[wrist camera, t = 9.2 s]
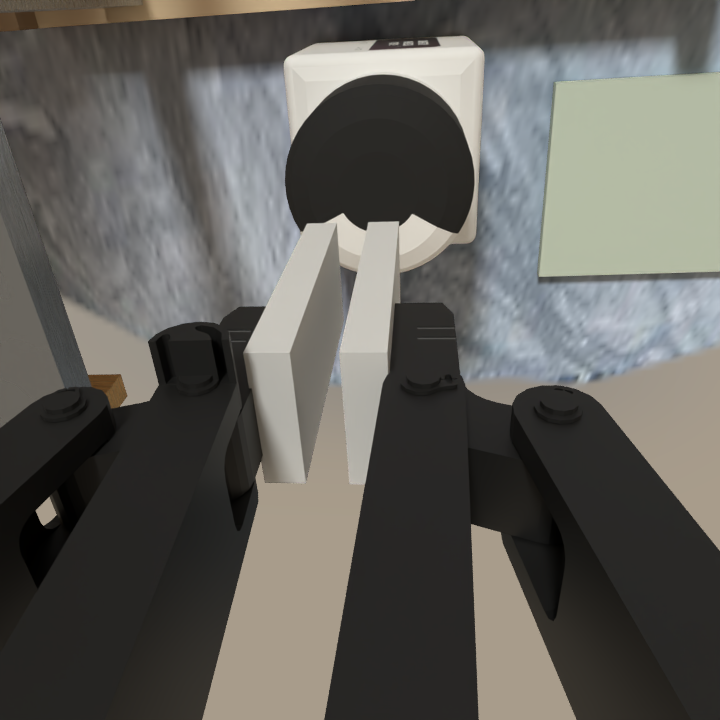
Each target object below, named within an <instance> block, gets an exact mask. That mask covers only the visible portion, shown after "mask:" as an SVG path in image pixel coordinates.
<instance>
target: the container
mask: <svg viewBox="0 0 720 720" xmlns="http://www.w3.org/2000/svg"><path fill="white" fill-rule="evenodd" d="M484 60H485V57H484V52H483V51H482V50H481V48H480V47H478V46H477V45H476V44H475V43H474V42H473V41H471V40H470V39H469V38H468V37H467V36H463V35H461V36H441V37H421V38H402V39H382V40H362V41H342V42H323V43H315V44H313V45H311V46H309V47H307V48H305V49H303V50H301V51H299V52H297V53H295V54H293V55H290V56H288V57H287V58H286V60H285V61H284V67H283V68H284V77H285V87H286V97H287V107H288V117H289V126H290V136H291V148H290V151H289V154H288V158H287V164H286V170H285V186H286V195H287V200H288V204H289V208H290V210H291V213H292V215H293V218H294V221H295V222H296V224H297V226H298V228H299V229H300V234H301V235H302V233H303V231H304V229H305V227H306V225H307V224H311V223H337V233H338V247H339V261H340V266H342V267H344V268H346V269H349V270H352V271H356V272H357V271H358V267H359V262H360V258H361V253H362V249H363V244H364V240H365V235H366V231H367V226H368V222H396V221H399V254H400V273H401V272H405V271H409V270H411V269H414V268H417V267H419V266H421V265H423V264H425V263H427V262H428V261H430V260H432V259H433V258H435V257H436V256H437V255H439V254H440V253H441V252H442V251H443V250H444V249H445V248H446V247H447V246H448V245H450V244H467V243H471V242H472V241H473V240H474V239H475V236H476V226H477V205H478V184H479V164H480V143H481V122H482V102H483V81H484Z"/></svg>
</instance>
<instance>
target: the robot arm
mask: <svg viewBox="0 0 720 720" xmlns="http://www.w3.org/2000/svg"><path fill="white" fill-rule="evenodd" d="M343 321H344V317H343V303H342V289H341V275H340V261H339V247H338V233H337V223H311V224H307V225H306V227H305V229H304V231H303V233H302V235H301V237H300V239H299V241H298V243H297V245H296V247H295V249H294V251H293V253H292V255H291V257H290V259H289V261H288V263H287V265H286V267H285V269H284V271H283V273H282V275H281V277H280V279H279V281H278V283H277V285H276V287H275V289H274V291H273V293H272V296H271V298H270V300H269V302H268V304H267V306H265V307H239V308H237V309H236V310H234V311H233V312H231V313H230V314H228V315H227V316H225V317H224V318H223V320H222V322H221V323H220V325H218V324H215V323H208V322H194V323H185V324H181V325H177V326H174V327H170V328H168V329H166V330H164V331H162V332H160V333H158V334H156V335H155V336H154V337H153V338H151V339H150V340H149V341H148V344H149V347H150V351H151V355H152V359H153V363H154V367H155V371H156V375H157V378H158V383H159V386H158V388H157V389H156V391H155V393H154V394H153V396H152V398H151V399H150V401H147V402H143V403H139V404H133V405H128V406H123V407H117V408H112V409H111V406H110V403H109V400H108V396H107V395H106V394H105V393H104V392H103V391H102V390H100V389H96V388H93V387H69V388H68V389H67V388H64V389H60V390H57V391H55V392H54V393H51V394H48V395H46V396H43V397H42V398H40V399H38V400H37V401H35V402H34V403H32V404H30V405H29V406H28V407H26V408H25V409H24V410H23V411H21V412H20V413H19V414H17V415H16V416H15V417H14V418H12V419H11V420H10V421H8V422H7V423H6V424H5V425H3V426H2V427H1V428H0V720H202V718H203V714H204V710H205V706H206V702H207V699H208V695H209V691H210V687H211V683H212V679H213V675H214V671H215V667H216V663H217V660H218V655H219V652H220V648H221V644H222V640H223V636H224V633H225V628H226V625H227V621H228V617H229V613H230V609H231V605H232V602H233V598H234V594H235V590H236V586H237V582H238V578H239V574H240V570H241V567H242V563H243V559H244V555H245V551H246V547H247V543H248V539H249V535H250V532H251V527H252V523H253V520H254V516H255V512H256V508H257V504H258V490H257V484H256V479H255V476H256V473H257V471H258V468H259V465H260V462H262V468H263V473H264V480H265V483H306V480H307V476H308V472H309V468H310V463H311V459H312V455H313V451H314V446H315V442H316V438H317V433H318V429H319V425H320V420H321V416H322V412H323V407H324V403H325V399H326V394H327V390H328V386H329V382H330V377H331V373H332V369H333V364H334V360H335V356H336V351H337V347H338V343H339V338H340V334H341V330H342V326H343ZM339 355H340V368H341V381H342V393H343V407H344V420H345V433H346V445H347V458H348V471H349V483H350V484H365V488H364V494H363V500H362V505H361V511H360V517H359V524H358V529H357V534H356V540H355V546H354V552H353V557H352V563H351V569H350V575H349V581H348V586H347V592H346V598H345V604H344V609H343V615H342V621H341V627H340V632H339V638H338V644H337V650H336V656H335V661H334V667H333V673H332V679H331V684H330V690H329V696H328V702H327V708H326V714H325V719H324V720H479V719H478V694H477V669H476V643H475V618H474V593H473V570H472V569H473V568H472V543H471V524H474V525H477V526H480V527H484V528H488V529H491V530H495V531H499V532H501V535H502V540H503V544H504V547H505V549H506V552H507V554H508V556H509V559H510V561H511V563H512V566H513V568H514V570H515V573H516V576H517V578H518V580H519V583H520V585H521V588H522V590H523V592H524V595H525V597H526V599H527V602H528V604H529V606H530V609H531V612H532V614H533V616H534V619H535V621H536V623H537V626H538V628H539V631H540V633H541V635H542V638H543V640H544V643H545V645H546V647H547V650H548V652H549V655H550V657H551V659H552V662H553V664H554V667H555V669H556V671H557V674H558V676H559V679H560V681H561V683H562V686H563V688H564V691H565V693H566V695H567V698H568V700H569V703H570V705H571V707H572V710H573V712H574V714H575V716H576V719H577V720H720V551H719V550H718V548H717V547H716V546H715V545H714V543H713V542H712V541H711V540H710V538H709V537H708V536H707V535H706V533H705V532H704V531H703V530H702V529H701V527H700V526H699V525H698V524H697V522H696V521H695V520H694V519H693V517H692V516H691V515H690V514H689V512H688V511H687V510H686V509H685V508H684V506H683V505H682V504H681V503H680V501H679V500H678V499H677V498H676V496H675V495H674V494H673V493H672V491H671V490H670V489H669V488H668V486H667V485H666V484H665V483H664V482H663V480H662V479H661V478H660V477H659V475H658V474H657V473H656V472H655V470H654V469H653V468H652V467H651V466H650V464H649V463H648V462H647V461H646V459H645V458H644V457H643V456H642V455H641V453H640V452H639V451H638V449H637V448H636V447H635V446H634V444H633V443H632V442H631V441H630V440H629V438H628V437H627V436H626V435H625V433H624V432H623V431H622V430H621V428H620V427H619V426H618V425H617V423H616V422H615V421H614V420H613V419H612V417H611V416H610V415H609V414H608V412H607V411H606V410H605V409H604V407H603V406H602V405H601V404H600V403H599V402H597V401H596V400H595V399H594V398H593V397H591V396H590V395H588V394H585V393H583V392H581V391H579V390H576V389H573V388H569V387H564V386H557V385H554V386H538V387H534V388H530V389H526V390H525V391H523V392H522V393H520V394H518V395H517V396H516V398H515V400H514V402H513V404H512V406H511V405H506V404H501V403H496V402H493V401H489V400H486V399H483V398H481V397H479V396H477V395H475V394H474V393H472V392H471V391H469V390H468V389H467V388H466V387H465V383H464V381H463V378H462V376H461V375H460V370H459V361H458V352H457V342H456V333H455V324H454V315H453V313H452V312H451V311H450V310H449V309H448V308H447V307H446V306H445V305H444V304H443V303H400V254H399V221H396V222H368V226H367V231H366V235H365V240H364V244H363V249H362V253H361V258H360V262H359V267H358V271H357V276H356V280H355V285H354V289H353V294H352V298H351V303H350V307H349V312H348V316H347V321H346V325H345V329H344V334H343V338H342V343H341V347H340V352H339ZM48 497H50V499H51V502H52V504H53V506H54V509H55V511H56V514H57V515H56V516H55V518H54V519H53V520H51V521H50V522H49V523H47V524H46V525H44V526H43V525H42V524H41V523H40V520H39V518H38V516H37V513H36V511H35V510H36V509H37V508H38V507H39V506H40V505H41V504H42V503H43V502H44V501H45V500H46V499H47V498H48Z"/></svg>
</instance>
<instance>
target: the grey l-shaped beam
mask: <svg viewBox="0 0 720 720" xmlns="http://www.w3.org/2000/svg"><path fill="white" fill-rule="evenodd" d="M138 5H143V1H142V0H0V13H12V12H33V11H55V10H76V9H97V8H112V7H125V6H138ZM69 387H93V388H96V389H100V390H102V391H103V392H104V393H105V394H106V395H107V396H108V400H109V403H110V406H111V409H112V408H117V407H120V405H121V404H122V403H123V401H124V400H125V398H126V397H127V393H126V390H125V387H124V384H123V381H122V377H121V375H120V374H117V375H88V374H87V371H86V369H85V365H84V363H83V360H82V357H81V354H80V351H79V348H78V345H77V342H76V339H75V336H74V334H73V330H72V327H71V324H70V321H69V319H68V316H67V313H66V310H65V307H64V304H63V301H62V298H61V295H60V292H59V289H58V286H57V283H56V280H55V277H54V275H53V272H52V269H51V266H50V263H49V260H48V257H47V254H46V251H45V248H44V245H43V242H42V239H41V236H40V233H39V231H38V228H37V225H36V222H35V219H34V216H33V213H32V210H31V207H30V204H29V201H28V198H27V195H26V192H25V189H24V187H23V184H22V181H21V178H20V175H19V172H18V169H17V166H16V163H15V160H14V157H13V154H12V151H11V148H10V145H9V143H8V140H7V137H6V134H5V131H4V128H3V125H2V122H1V119H0V428H1V427H2V426H3V425H5V424H6V423H7V422H8V421H10V420H11V419H12V418H14V417H15V416H16V415H17V414H19V413H20V412H21V411H23V410H24V409H25V408H26V407H28V406H29V405H30V404H32V403H34V402H35V401H37V400H38V399H40V398H42V397H43V396H46V395H48V394H51V393H54V392H55V391H57V390H60V389H64V388H67V389H68V388H69Z"/></svg>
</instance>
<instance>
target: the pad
mask: <svg viewBox="0 0 720 720" xmlns="http://www.w3.org/2000/svg"><path fill="white" fill-rule="evenodd" d="M687 272H720V72H712V73H695V74H678V75H662V76H645V77H628V78H611V79H595V80H578V81H561V82H554V85H553V97H552V108H551V120H550V131H549V143H548V154H547V166H546V177H545V189H544V201H543V212H542V224H541V235H540V247H539V258H538V270H537V273H538V276H539V277H548V276H583V275H617V274H652V273H687Z"/></svg>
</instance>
